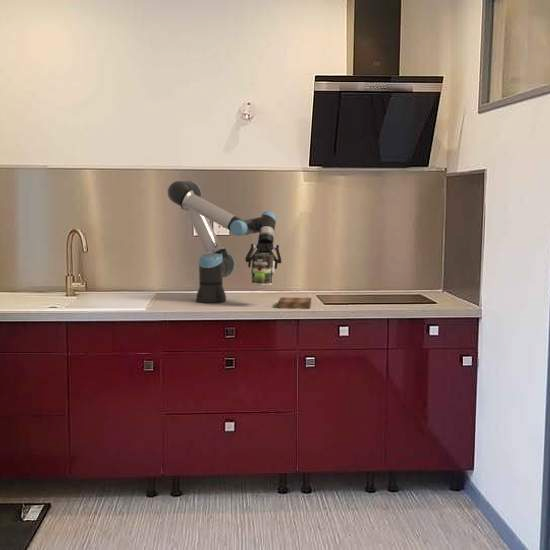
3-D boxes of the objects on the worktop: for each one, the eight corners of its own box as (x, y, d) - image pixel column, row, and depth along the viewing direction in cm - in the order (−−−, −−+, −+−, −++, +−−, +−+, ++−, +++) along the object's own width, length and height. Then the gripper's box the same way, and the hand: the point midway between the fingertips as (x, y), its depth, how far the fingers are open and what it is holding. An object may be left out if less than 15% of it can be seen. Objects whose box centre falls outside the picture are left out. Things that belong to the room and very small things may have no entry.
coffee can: (269, 285, 340) (270, 256, 338) (248, 284, 343) (249, 254, 341) (275, 283, 350) (276, 254, 348) (255, 281, 353) (255, 253, 351)
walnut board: (277, 308, 340) (277, 301, 339) (280, 303, 354) (280, 297, 354) (309, 308, 338) (309, 302, 338) (311, 303, 353) (311, 297, 353)
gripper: (289, 243, 359) (285, 278, 345) (244, 241, 361) (238, 276, 347) (288, 233, 353) (285, 268, 339) (242, 231, 355) (237, 267, 341)
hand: (261, 272), depth 343 cm, fingers closed on coffee can, 10 cm apart
